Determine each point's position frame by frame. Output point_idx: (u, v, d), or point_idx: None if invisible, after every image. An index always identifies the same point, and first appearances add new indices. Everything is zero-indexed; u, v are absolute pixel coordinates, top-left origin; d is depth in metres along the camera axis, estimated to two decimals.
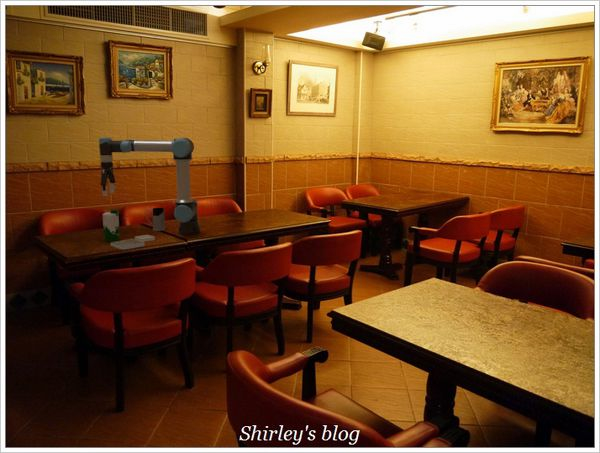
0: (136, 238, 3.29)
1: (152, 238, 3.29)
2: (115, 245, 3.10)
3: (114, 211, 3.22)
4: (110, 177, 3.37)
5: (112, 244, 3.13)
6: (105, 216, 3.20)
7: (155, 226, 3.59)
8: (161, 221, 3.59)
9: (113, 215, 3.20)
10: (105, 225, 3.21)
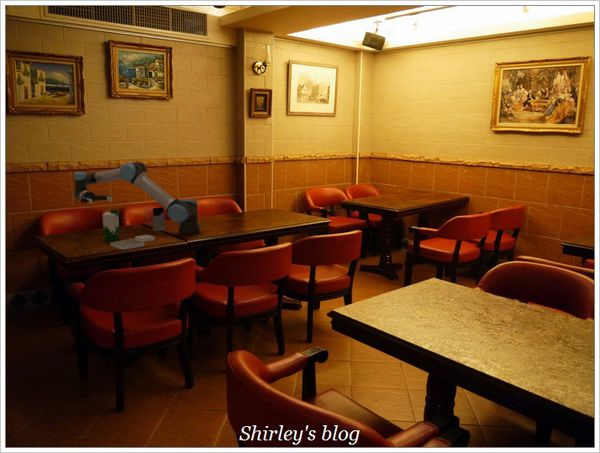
0: (136, 238, 3.29)
1: (152, 238, 3.29)
2: (115, 245, 3.10)
3: (114, 211, 3.22)
4: (100, 197, 3.40)
5: (112, 244, 3.13)
6: (105, 216, 3.20)
7: (155, 226, 3.59)
8: (161, 221, 3.59)
9: (113, 215, 3.20)
10: (105, 225, 3.21)
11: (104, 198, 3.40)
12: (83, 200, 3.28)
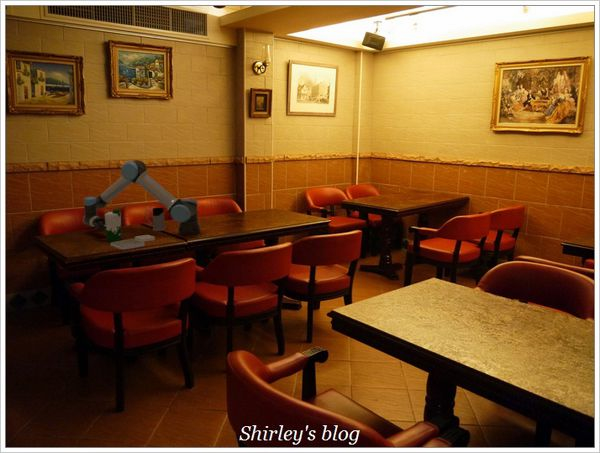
0: (136, 238, 3.29)
1: (152, 238, 3.29)
2: (115, 245, 3.10)
3: (116, 211, 3.22)
4: None
5: (112, 244, 3.13)
6: (107, 216, 3.21)
7: (155, 226, 3.59)
8: (161, 221, 3.59)
9: (115, 215, 3.20)
10: (107, 225, 3.22)
11: None
12: (101, 227, 3.24)
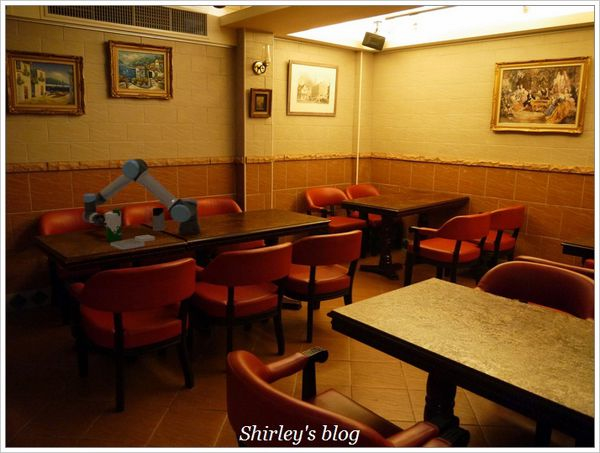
0: (136, 238, 3.29)
1: (152, 238, 3.29)
2: (115, 245, 3.10)
3: (116, 211, 3.22)
4: None
5: (112, 244, 3.13)
6: (107, 215, 3.21)
7: (155, 226, 3.59)
8: (161, 221, 3.59)
9: (115, 214, 3.20)
10: None
11: None
12: (101, 223, 3.23)
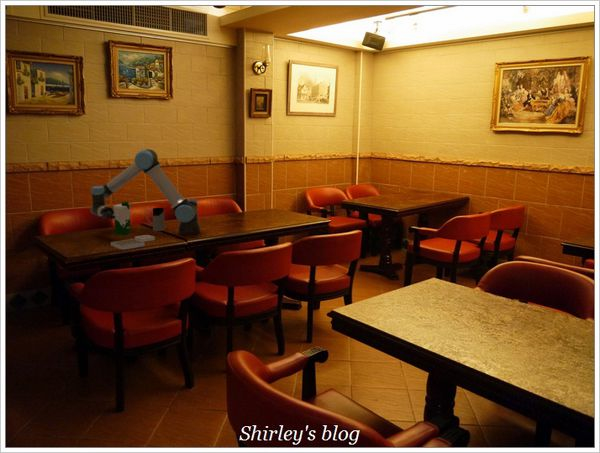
0: (136, 238, 3.29)
1: (152, 238, 3.29)
2: (115, 245, 3.10)
3: (125, 203, 3.11)
4: None
5: (112, 244, 3.13)
6: (116, 208, 3.10)
7: (155, 226, 3.59)
8: (161, 221, 3.59)
9: (124, 207, 3.10)
10: None
11: None
12: (109, 216, 3.13)
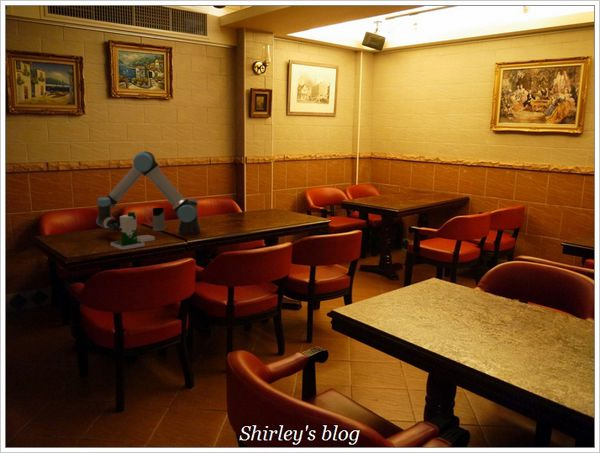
0: None
1: (152, 238, 3.29)
2: (115, 245, 3.10)
3: (131, 214, 3.10)
4: None
5: (112, 244, 3.13)
6: (122, 219, 3.08)
7: (155, 226, 3.59)
8: (161, 221, 3.59)
9: (130, 218, 3.08)
10: None
11: None
12: (116, 229, 3.11)
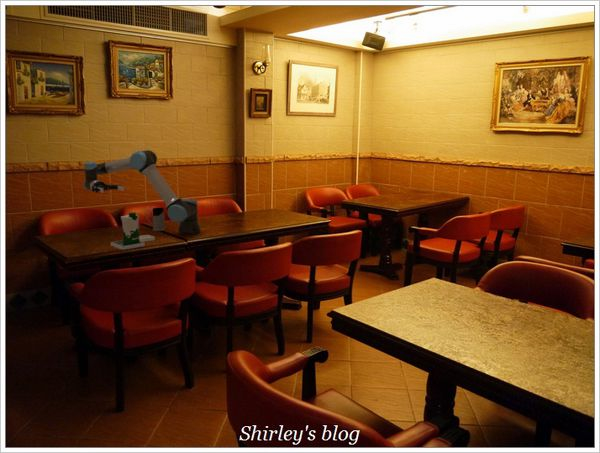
0: None
1: (152, 238, 3.29)
2: (115, 245, 3.10)
3: (131, 214, 3.08)
4: (111, 187, 3.37)
5: (112, 244, 3.13)
6: (122, 219, 3.09)
7: (155, 226, 3.59)
8: (161, 221, 3.59)
9: (128, 218, 3.07)
10: None
11: (115, 187, 3.37)
12: (94, 189, 3.26)
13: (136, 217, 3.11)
